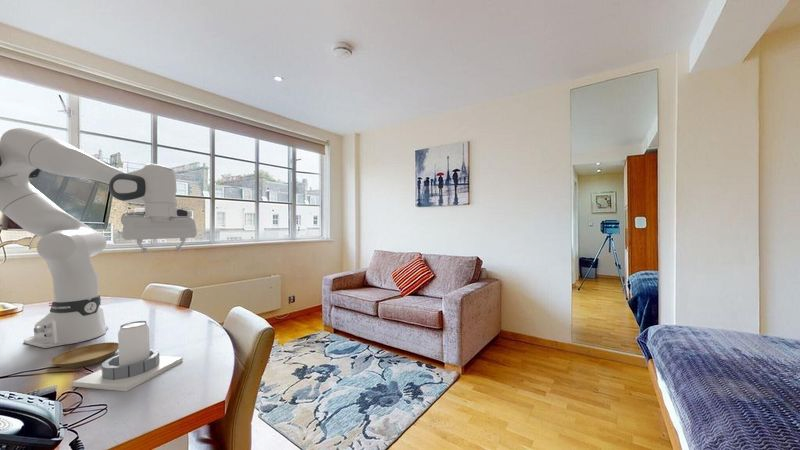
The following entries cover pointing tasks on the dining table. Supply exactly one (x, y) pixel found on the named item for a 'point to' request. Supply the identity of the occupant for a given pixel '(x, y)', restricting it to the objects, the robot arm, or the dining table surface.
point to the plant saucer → (85, 355)
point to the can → (133, 342)
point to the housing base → (123, 382)
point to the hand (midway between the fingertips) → (162, 252)
